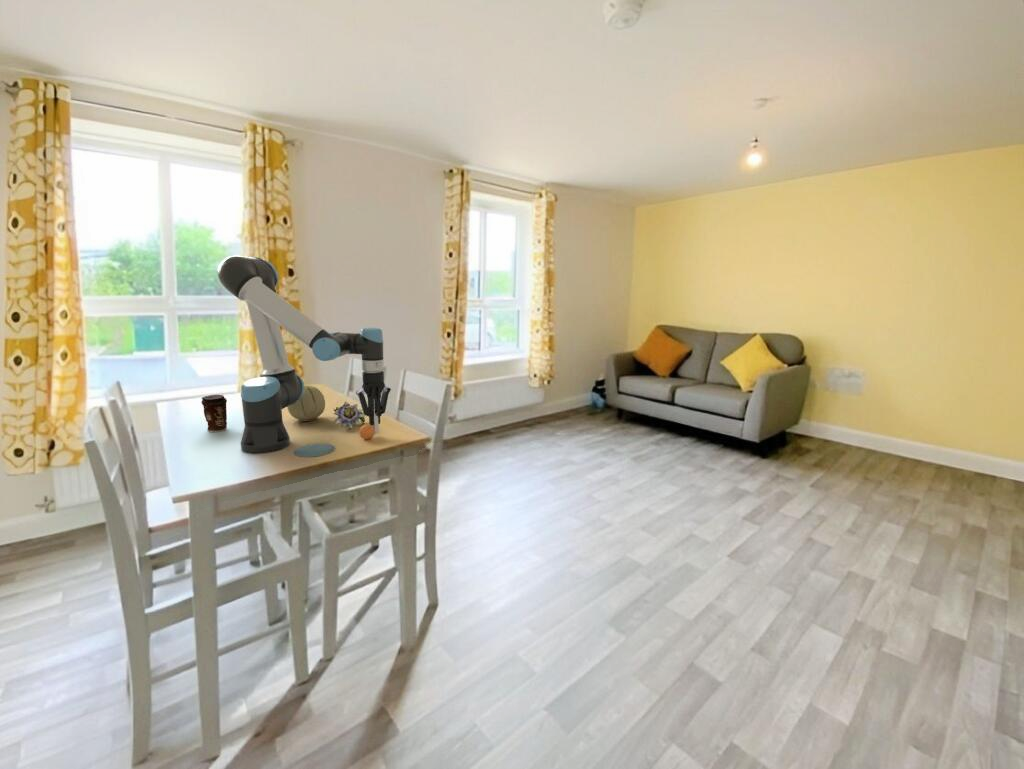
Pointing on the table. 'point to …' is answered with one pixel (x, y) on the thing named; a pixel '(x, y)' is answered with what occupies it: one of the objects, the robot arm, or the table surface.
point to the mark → (314, 450)
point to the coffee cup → (215, 412)
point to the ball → (367, 431)
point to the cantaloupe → (308, 405)
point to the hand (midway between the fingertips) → (375, 432)
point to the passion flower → (349, 415)
